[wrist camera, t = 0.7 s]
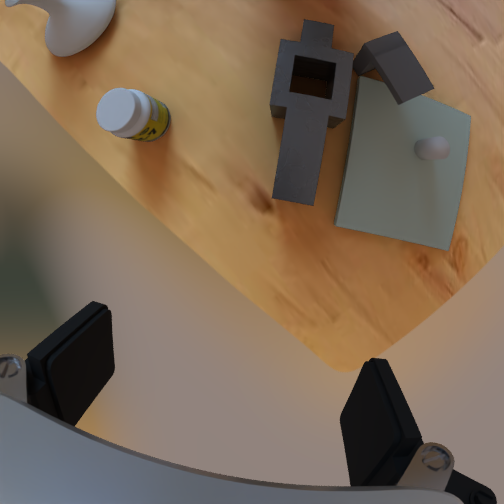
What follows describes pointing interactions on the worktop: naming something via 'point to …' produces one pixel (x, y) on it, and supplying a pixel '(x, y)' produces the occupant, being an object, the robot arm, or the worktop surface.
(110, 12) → the flower in vase
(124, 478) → the robot arm
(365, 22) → the worktop surface
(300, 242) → the worktop surface
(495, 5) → the worktop surface
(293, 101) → the link
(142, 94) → the supplement bottle
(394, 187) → the board
